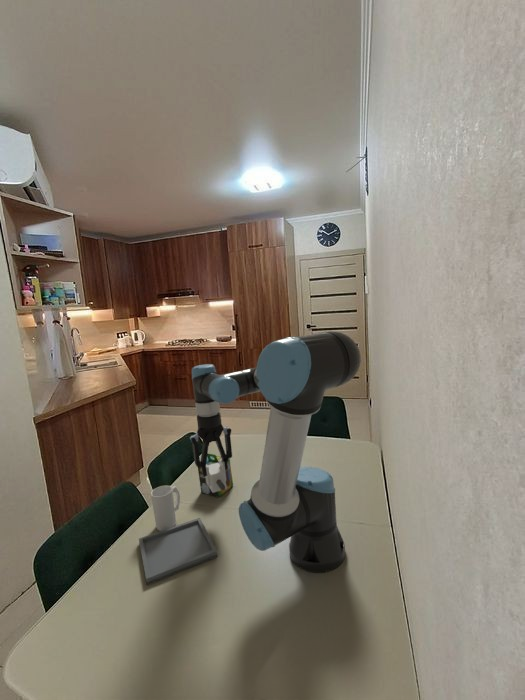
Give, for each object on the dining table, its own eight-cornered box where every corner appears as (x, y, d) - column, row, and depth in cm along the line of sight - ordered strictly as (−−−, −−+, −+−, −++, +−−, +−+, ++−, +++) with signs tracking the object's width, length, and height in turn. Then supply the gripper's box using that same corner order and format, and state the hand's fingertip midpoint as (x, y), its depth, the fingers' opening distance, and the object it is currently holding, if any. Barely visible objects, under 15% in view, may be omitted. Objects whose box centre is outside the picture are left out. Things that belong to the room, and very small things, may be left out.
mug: (164, 534, 109) (159, 498, 107) (151, 527, 113) (146, 493, 111) (188, 517, 117) (184, 483, 115) (175, 511, 121) (171, 479, 119)
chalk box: (233, 486, 134) (230, 449, 132) (218, 498, 127) (214, 460, 125) (215, 481, 139) (211, 446, 137) (199, 492, 132) (195, 455, 130)
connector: (231, 495, 107) (229, 477, 106) (217, 500, 105) (215, 481, 104) (217, 475, 121) (215, 459, 120) (204, 479, 119) (202, 462, 118)
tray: (217, 556, 97) (216, 550, 97) (147, 585, 89) (146, 578, 89) (200, 522, 113) (199, 517, 113) (139, 544, 105) (138, 538, 105)
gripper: (230, 404, 117) (237, 469, 120) (178, 416, 110) (186, 485, 113) (238, 410, 110) (245, 478, 113) (183, 422, 103) (192, 495, 106)
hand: (216, 481), depth 113 cm, fingers closed on connector, 5 cm apart
